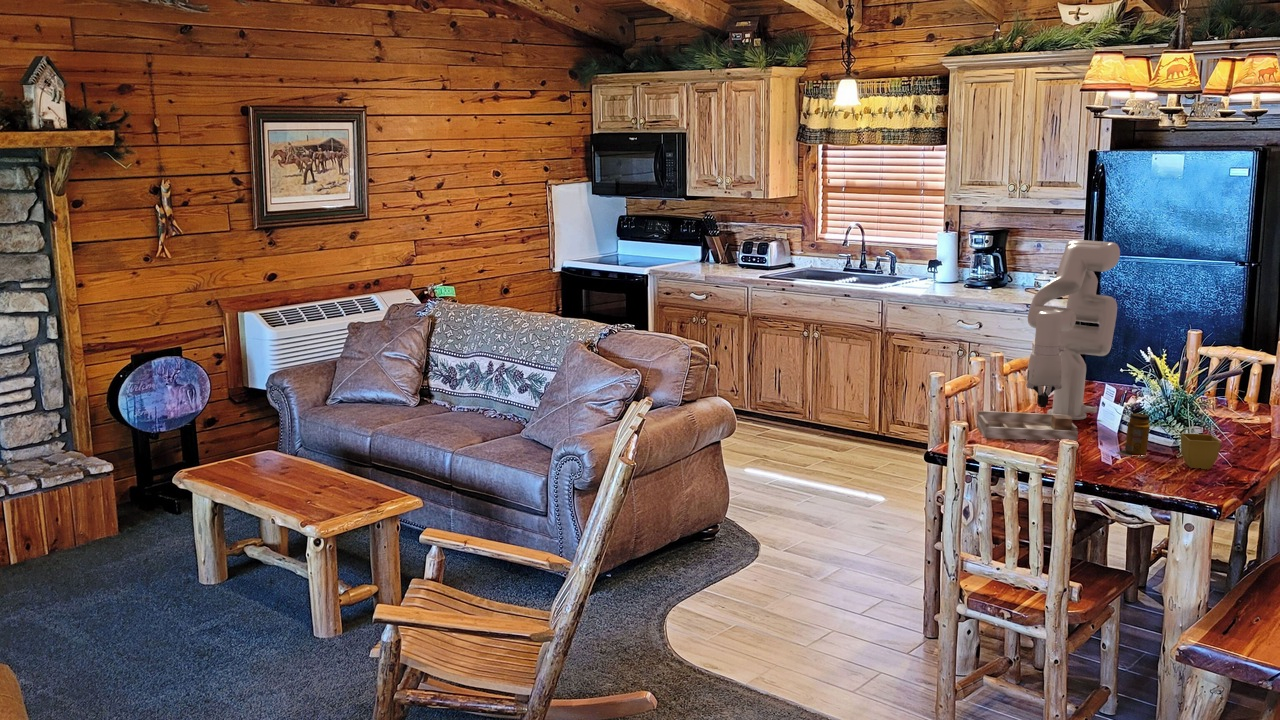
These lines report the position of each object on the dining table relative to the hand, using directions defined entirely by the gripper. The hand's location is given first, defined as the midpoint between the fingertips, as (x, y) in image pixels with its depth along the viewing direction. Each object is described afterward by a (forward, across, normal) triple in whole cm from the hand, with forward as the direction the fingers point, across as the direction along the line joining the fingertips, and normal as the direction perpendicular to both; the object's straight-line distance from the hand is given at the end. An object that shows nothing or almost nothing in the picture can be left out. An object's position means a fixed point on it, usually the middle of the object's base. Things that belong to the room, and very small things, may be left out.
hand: (1042, 406), depth 358 cm
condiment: (+9, -23, +18) cm, 31 cm away
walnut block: (+7, -6, +2) cm, 9 cm away
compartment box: (+9, +5, +1) cm, 10 cm away
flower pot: (+9, -37, +30) cm, 49 cm away
